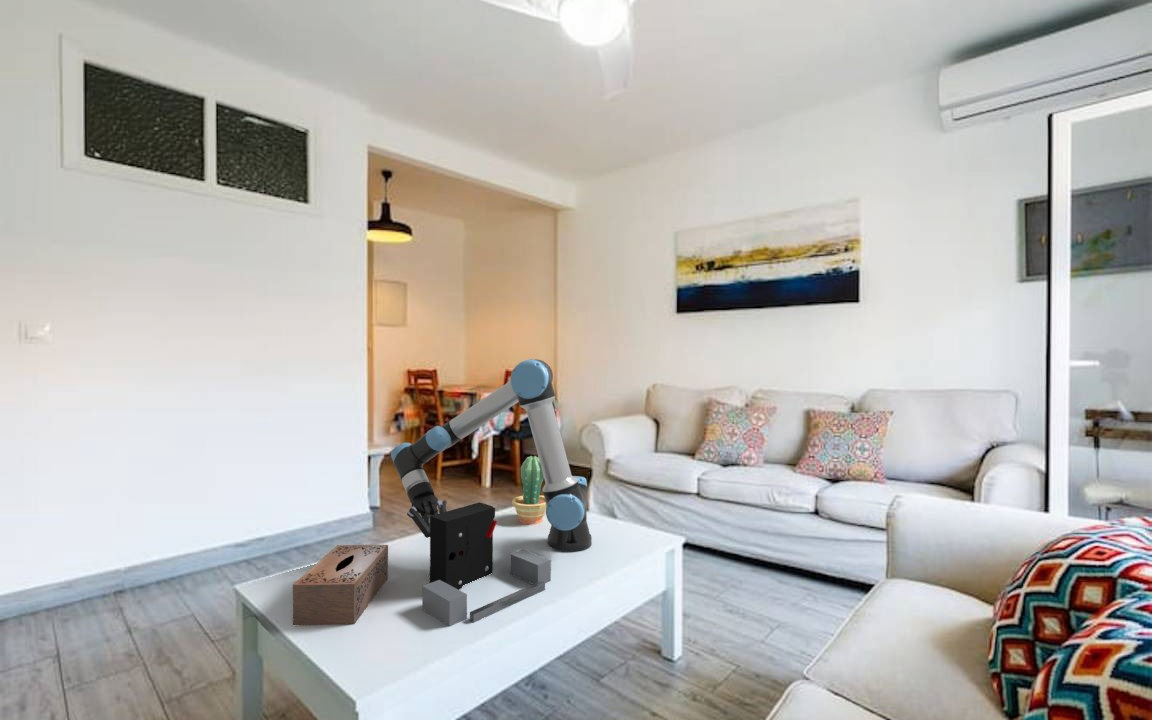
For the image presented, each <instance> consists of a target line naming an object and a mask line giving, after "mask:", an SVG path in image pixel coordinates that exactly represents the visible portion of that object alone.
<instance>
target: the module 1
mask: <svg viewBox="0 0 1152 720" xmlns="http://www.w3.org/2000/svg"><path fill="white" fill-rule="evenodd" d="M421 591H422V593H421V595H422V598H421V599H422V608H421V609H422V610H423V611H424V612H426V613H427V614H429V615H430V616H432V617H433V618H435V619H437V620H439V621H441V623H444V624H445V625H447V626H448V627H452V626H453V625H456V624H458V623H461V622H463V621H466V620H467V619H468V593H466V592H464V591H462V590H461V589H460V590H458V589H456V588H454V587H452V586H450V585H449V584H447V583H445V582H443V581H441V580H437V581H435V582H432V583H427V584H424V585H422V589H421Z"/></svg>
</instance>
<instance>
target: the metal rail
mask: <svg viewBox="0 0 1152 720" xmlns="http://www.w3.org/2000/svg"><path fill="white" fill-rule="evenodd" d="M545 590H546V583H545V582H543V581H539V582H537V583H535V584H531V585H529V586H526V587H524V588H522V589H518V590H517V591H514V592H512V593H509V594H508V595H505V596H503V597H501V598H499V599H497V600H496V599H495V600H493V601H492V602H490V603H489V602H488V603H487V604H485V605H483V606H481V607H477V608H476V609H474V610H472V611H469V621H470V622H472V623H476V622H478V621H480V620H482V618H483V619H485V618H487V617H489V616H491V615H493V614H495V613H497V612H500V611H502V610H503V609H506V608H509V607H511V606H512V605H514V604H515V605H516V604H517V603H519V602H521V601H524V600H526V599H527V598H530V597H532V596H535V595H536V594H539V593H541V592H543V591H545ZM484 617H485V618H484Z"/></svg>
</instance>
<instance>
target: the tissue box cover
mask: <svg viewBox="0 0 1152 720" xmlns="http://www.w3.org/2000/svg"><path fill="white" fill-rule="evenodd" d="M388 578H389V544H338V545H336V546H334V547H333V548H332V549H331V550H330V551H329V552H328V553H327V554H326V555H324V556H323V557H322V558H321V559H320V560H319V561H318V562H317V563H316V564H314V566H312V567H311V568H310V569H309V570H308V571H307V572H306V573H304V574H303V575H302V576H301V577H300V578H299V579H298V580H297V581H295V582H294V583H293V584H292V626H293V625H299V626H333V625H334V626H335V625H337V626H340V625H341V626H342V625H347V626H348V625H355V624H356V623H357V621H359V618H361V616H362V615H363V613H364V612H365V611H366V609H367V608H368V606H369V605H370V604H371V603H372V601H373V600H374V598H375V597H374V596H376V595H377V594H378V593H379V591H380V590H381V589H380V588H382V587H383V586H384V585H385V583H386V582H387V580H388ZM385 581H386V582H385ZM382 585H383V586H382ZM379 589H380V590H379ZM377 592H378V593H377ZM372 599H373V600H372ZM369 603H370V604H369ZM368 604H369V605H368ZM364 610H365V611H364Z"/></svg>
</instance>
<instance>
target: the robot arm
mask: <svg viewBox="0 0 1152 720" xmlns="http://www.w3.org/2000/svg"><path fill="white" fill-rule="evenodd" d="M553 375H554V374H553V370H552V368H551V367H550V366H549V364H548V363H547V362H545V360H542V359H537V358H536V359H533V358H532V359H529V358H528V359H525V360H522V361H520V362H519V363H518V364H516V365H515V367H514V368H513V369H512V371H511V374H510V378H509V381H508V382H506V383H505V384H503V385H502V386H501V387H499V388H497V389H496V390H495V391H493V392H491V393H490V394H488V395H487V396H485V397H484V398H482V399H481V400H480V401H478V402H477V403H475V404H473V405H472V406H471V407H469V408H468V409H466V410H464V411H463V412H461V413H460V414H458V415H456V416H455V417H453V418H452V419H450V420H449V421H447V422H446V423H444V424H443V425H441V426H440V425H436V426H434V427H432V428H431V429H429V430H428V431H427V432H426V433H424V435H422V436H421V437H420V438H418V439H417V440H416V441H415V442H414V443H411V442H403V443H401V444H398V445H396V446H395V447H394V448H393V449H392V450H391V453H390V457H391V460H392V464H393V466H394V467H395V470H396V472H397V474H398V476H399V478H400V480H401V483H402V485H403V488H404V490H405V492H406V495H407V497H408V500H409V502H410V503H411V507H410V508H409V510H408V511H407V513H406V515H407V516H408V518H410V519H412V521H413V522H414V524H415V525H416V527H418V528H419V529H418V530H420V531H421V533H422V534H423V536H424V537H425V538H427V539H428V538H430V523H429V518H430V516H432V515H436V514H440V513H443V512H447V502H448V501H447V500H443V501H441V500H439V499H438V497H437V496H436V495H435V491H434V488H433V486H432V485H431V483H430V480H429V478H428V476H427V473H426V471H425V469H424V465H425V464H426V463H428V462H429V461H430V460H431V459H433V458H434V457H435V456H437V455H438V454H440V453H442V452H443V451H446V450H447V449H449V448H451V447H453V446H454V445H455V444H457V443H458V442H460V441H461V440H463V439H464V438H465V437H467V436H469V435H470V434H471V433H474V432H475V431H476V430H477V429H479V428H481V427H482V426H484V425H485V424H487V423H488V422H489V421H492V420H494V418H496V417H497V416H499V415H501V414H502V413H503V412H506V411H507V410H508V409H509V408H512V407H513V406H514V405H516V404H518V403H519V407H521V408H522V409H524V410H525V411H526V416H527V419H528V422H529V426H530V430H531V434H532V438H533V442H534V446H535V449H536V452H537V457H538V458H539V460H540V464H541V468H542V472H543V475H544V479H543V480H544V483H545V484H544V486H543V487H542V488H541V489H542V493H543V496H544V498H545V502H546V505H547V506H546V513H545V516H546V519H547V521H548V522H549V524H550V529H549V533H548V535H547V547H549V548H551V549H553V550H556V551H559V552H569V553H570V552H572V553H573V552H580V551H584V550H586V549H589V548H590V547H591V546H592V541H593V540H592V539H593V538H592V535H591V534H590V527H589V525H588V521H587V520H588V518H587V515H588V514H587V509H588V507H587V505H588V503H587V501H588V500H587V499H588V498H587V497H588V495H587V493H588V492H587V491H588V483H587V478H585V476H578V475H577V476H576V475H572V472H571V468H570V465H569V461H568V458H567V453H566V449H565V445H564V443H563V439H562V435H561V430H560V426H559V424H558V420H557V416H556V413H555V409H554V404H553V402H554V400H555V399H556V394H555V390H554V386H553V379H554V376H553Z"/></svg>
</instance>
